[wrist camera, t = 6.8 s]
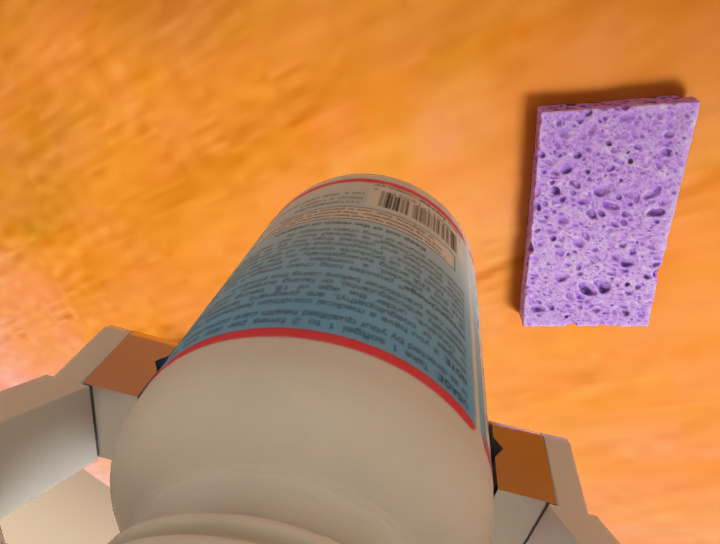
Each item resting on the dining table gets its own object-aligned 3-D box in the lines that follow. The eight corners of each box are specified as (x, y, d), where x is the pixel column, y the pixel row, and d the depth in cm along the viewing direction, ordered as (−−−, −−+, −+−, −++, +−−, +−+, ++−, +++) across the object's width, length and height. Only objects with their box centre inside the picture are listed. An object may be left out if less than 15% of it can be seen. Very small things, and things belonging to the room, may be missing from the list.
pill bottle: (227, 229, 15) (-175, 657, 5) (409, 125, 13) (277, 535, 3) (337, 377, 17) (188, 881, 7) (511, 309, 15) (620, 903, 5)
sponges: (517, 308, 32) (521, 326, 30) (534, 99, 26) (540, 108, 24) (639, 310, 31) (649, 329, 29) (687, 91, 25) (704, 100, 23)
